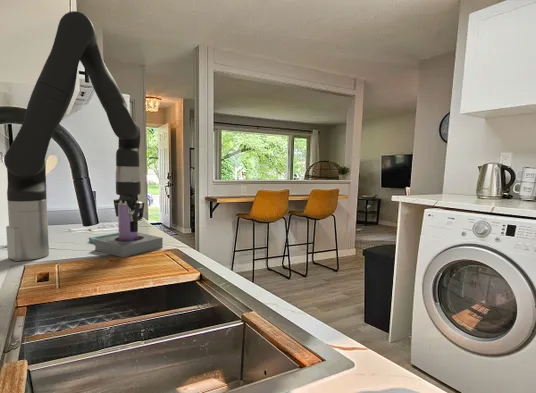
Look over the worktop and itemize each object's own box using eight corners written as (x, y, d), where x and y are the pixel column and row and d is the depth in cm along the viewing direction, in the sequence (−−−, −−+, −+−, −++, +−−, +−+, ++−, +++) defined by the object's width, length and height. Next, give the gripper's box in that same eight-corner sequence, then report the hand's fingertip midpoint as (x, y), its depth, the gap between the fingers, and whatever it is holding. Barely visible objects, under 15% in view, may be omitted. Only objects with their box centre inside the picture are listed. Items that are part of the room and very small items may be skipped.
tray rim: (107, 246, 108) (107, 242, 108) (89, 241, 114) (88, 237, 114) (138, 240, 118) (138, 236, 118) (119, 236, 124) (119, 232, 124)
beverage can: (133, 248, 103) (132, 203, 102) (115, 248, 103) (114, 203, 102) (141, 244, 109) (140, 201, 108) (124, 244, 109) (123, 201, 108)
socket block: (122, 257, 96) (121, 246, 95) (95, 249, 104) (95, 239, 103) (162, 247, 108) (162, 237, 108) (135, 241, 116) (135, 232, 116)
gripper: (105, 179, 104) (106, 230, 106) (131, 181, 97) (132, 235, 98) (125, 179, 111) (126, 226, 112) (151, 180, 103) (152, 231, 105)
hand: (129, 230), depth 105 cm, fingers closed on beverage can, 4 cm apart
